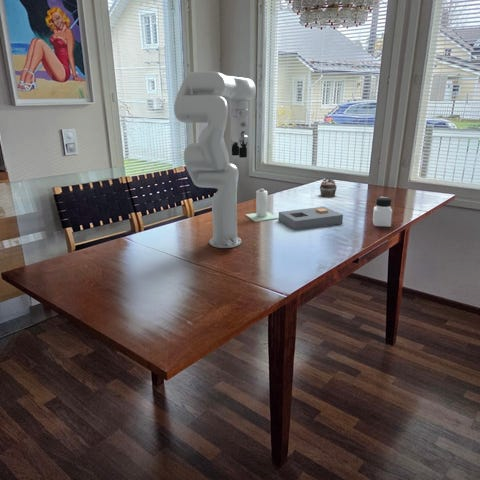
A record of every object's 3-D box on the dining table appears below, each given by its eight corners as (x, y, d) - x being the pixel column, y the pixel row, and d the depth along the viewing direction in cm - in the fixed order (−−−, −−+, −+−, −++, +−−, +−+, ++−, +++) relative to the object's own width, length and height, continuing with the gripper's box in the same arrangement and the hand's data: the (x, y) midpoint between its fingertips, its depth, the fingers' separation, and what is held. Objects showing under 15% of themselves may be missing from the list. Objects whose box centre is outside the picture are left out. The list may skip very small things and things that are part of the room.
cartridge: (269, 216, 193) (269, 189, 189) (258, 218, 192) (258, 190, 188) (264, 214, 198) (264, 187, 194) (254, 215, 196) (254, 188, 192)
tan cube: (327, 219, 187) (327, 210, 186) (320, 220, 186) (320, 211, 185) (322, 217, 191) (323, 208, 189) (315, 218, 190) (316, 209, 188)
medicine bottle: (391, 226, 177) (393, 200, 173) (373, 226, 179) (376, 199, 175) (388, 222, 184) (391, 196, 180) (372, 221, 185) (374, 195, 181)
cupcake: (316, 194, 239) (317, 177, 235) (331, 193, 241) (332, 176, 238) (324, 198, 230) (325, 180, 227) (339, 196, 233) (340, 179, 229)
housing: (342, 223, 184) (342, 214, 182) (294, 229, 176) (295, 221, 174) (323, 214, 198) (323, 206, 196) (278, 220, 190) (278, 212, 188)
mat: (278, 218, 192) (278, 217, 192) (255, 221, 188) (255, 220, 188) (268, 212, 202) (268, 211, 202) (245, 215, 198) (245, 214, 198)
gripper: (254, 114, 163) (254, 157, 168) (240, 114, 178) (240, 154, 183) (237, 114, 160) (237, 158, 165) (223, 114, 176) (224, 155, 181)
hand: (239, 156), depth 174 cm, fingers open, 9 cm apart
